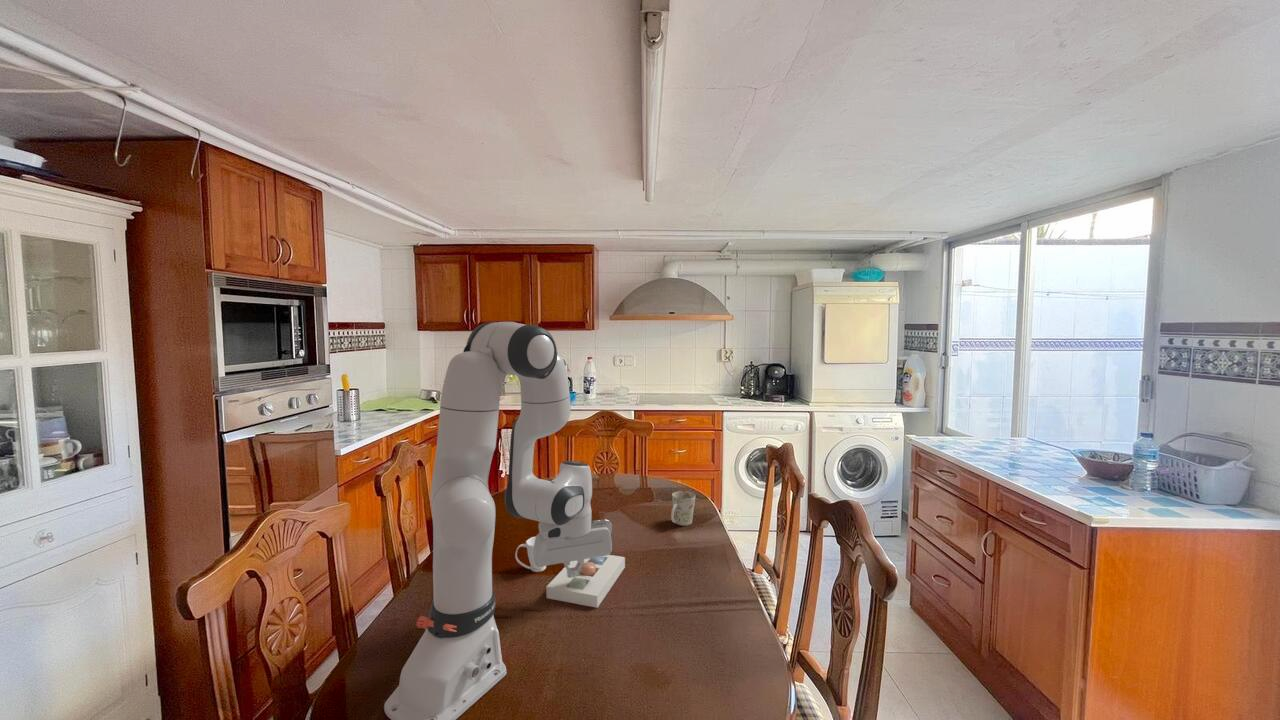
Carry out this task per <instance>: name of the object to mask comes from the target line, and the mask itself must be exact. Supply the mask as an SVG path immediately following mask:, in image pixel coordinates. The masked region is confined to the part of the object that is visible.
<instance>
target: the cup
mask: <svg viewBox="0 0 1280 720" xmlns="http://www.w3.org/2000/svg"><path fill="white" fill-rule="evenodd" d="M535 539H536V536H531V537H530V538H528V539H527V540H526V541H525V543H522V544H519V545H518V546H517V548H516V551H515V555H514V557H515V560H516V562H517V563H518V564H519V565H520V566H522V567H524V568H525V569H528V570H531V571H532V572H534V573H535V572H536V573H540V572H543V571H544V570H546V569H547V566H541V567H538V566H537V565H536V564H535V562H534V559H533V551H534V543H535ZM521 547H523V548H526V551H527V556H528V557H527V558H528V560H529V563H530V564H529V565H530V566H529V565H527V564H525V563H523V562H522V561H520V559H519V558H518V550H519V549H520V548H521Z"/></svg>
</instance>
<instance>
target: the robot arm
mask: <svg viewBox="0 0 1280 720" xmlns="http://www.w3.org/2000/svg"><path fill="white" fill-rule="evenodd" d="M565 364H566V363H565V361H564V357H562V355H561V354H560V353H559V352H558V349H557V343H556V342H555V339H554V337H553V336H552V334H551V333H550V332H549V331H548V330H546V329H545V328H543V327H541V326H538V325H535V324H523V323H518V322H515V321H498V322H496V321H489V322H488V321H487V322H484V323H482V324H480V325H478V326H477V327H475V328H474V329H473V330H472V331H471V332H470V335H469V336H468V338H467V342H466V345H465V347H464V348H463V352H461V353H458V354H455V356H453V357H452V358H451V360H450V361H449V362H448V366H447V369H446V372H445V376H444V380H443V386H442V389H441V396H440V397H441V398H440V404H439V405H440V406H439V415H438V416H439V417H438V426H437V427H438V429H437V440H436V449H435V450H436V451H435V456H434V462H433V468H432V469H433V470H432V478H431V487H430V495H429V496H430V497H429V499H430V507H431V516H432V517H431V518H432V528H433V529H432V536H433V538H432V539H433V541H432V549H433V551H432V582H433V583H432V585H433V586H432V587H433V588H432V589H433V591H432V592H433V601H432V603H431V606H430V609H429V614H428V617H427V616H426V615H425V616H424V615H421V616H419V617H418V618H417V621H416V627H417V628H418V629H424V630H425V631H424V633H423V634H422V636H421V638H419V640H418V642H417V644H416V645H415V647H414V649H413V651H412V653H410V656H409V658H408V659H407V660H406V662H405V664H404V665H403V667H402V669H401V672H400V674H399V675H400V676H399V684H398V686H397V687H396V688H395V690H394V691H392V694H390V695H389V697H388V698H387V700H386V701H385V702H384V706H383V710H384V713H385V715H386V716H387V718H389V719H390V720H457V719H458V718H460V716H462V715H463V714H464V713H465V712H466V711H467V710H469V708H470V707H472V706H473V705H474V704H475V703H477V701H478V700H480V698H482V697H483V696H484V695H485V694H486V693H488V692H489V690H491V689H492V688H493V687H494V686H495V685H497V684H498V682H500V681H501V680H502V679H503V678H504V677H505V676H506V675H507V667H506V664H505V663H504V662H503V655H502V649H501V640H500V632H499V629H498V626H497V623H496V619H495V616H494V614H495V610H496V598H495V597H496V596H495V591H494V590H493V548H494V540H495V532H496V531H495V529H496V528H495V527H496V514H497V513H496V510H497V509H496V504H495V503H496V502H495V501H494V498H493V497H492V495H491V492H490V489H489V476H490V469H491V464H492V460H493V457H494V452H495V451H496V448H497V440H498V439H497V435H498V427H499V426H498V425H499V414H500V413H499V412H500V403H501V402H500V400H501V399H500V397H501V393H500V392H501V391H500V390H501V387H502V384H503V382H504V380H505V379H506V377H507V376H509V375H510V376H516V377H517V378H518V381H519V383H520V402H521V405H520V412H519V416H518V417H517V418H516V419H515V420H514V421H513V424H512V426H511V427H512V429H511V433H510V442H509V444H510V445H509V462H508V463H509V464H508V477H507V478H508V479H507V484H506V488H505V493H504V505H505V507H506V510H507V512H508V513H509V514H510V515H511V517H514V518H519V519H526V520H531V521H532V520H533V521H536V522H539V523H538V531H539V532H538V533H537V534H536V536H535V537H536V539H535V543H534V551H533V559H534V562H535V564H536V565H537V566H538V567H541V566H546V567H547V566H553V565H557V564H563V566H564V567H565V568H566V569H567V577H568V578H571V577H576V576H579V571H580V569H581V567H582V565H583V564H584V559H589V558H594V557H600V556H606V555H611V553H612V551H613V542H612V536H611V534H612V532H613V524H612V521H610V520H608V519H607V518H602V519H596V520H592V517H593V515H592V507H591V506H592V505H591V500H592V497H593V478H592V477H593V476H592V470H591V467H590V465H589V464H588V463H585V462H584V461H583V462H581V461H575V460H564V461H562V462H561V463H560V465H559V471H558V474H556V476H555V477H554V478H553V479H552V480H549V479H548V480H547V479H541V478H538V477H537V476H536V475H535V474H534V472H533V467H534V466H533V463H534V462H533V461H534V450H535V444H536V441H537V440H538V439H539V440H540V439H542V438H545V437H548V436H550V435H553V434H555V433H557V432H559V431H560V430H561V429H562V428H563V427H565V426H566V425H567V423H568V422H569V419H570V416H571V408H572V407H571V394H570V393H571V392H570V384H569V379H568V378H569V377H568V372H567V369H566V365H565ZM571 561H578V562H577V564H576V566H575V567H573V568H569V567H568V565H570V562H571Z"/></svg>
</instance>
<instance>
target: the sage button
mask: <svg viewBox="0 0 1280 720" xmlns="http://www.w3.org/2000/svg"><path fill="white" fill-rule="evenodd" d="M585 586H586V581H585V580H584V579H582V578H576V579H573V580H571V582H570V588H576V589H581V590H583V589H584V587H585Z"/></svg>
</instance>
